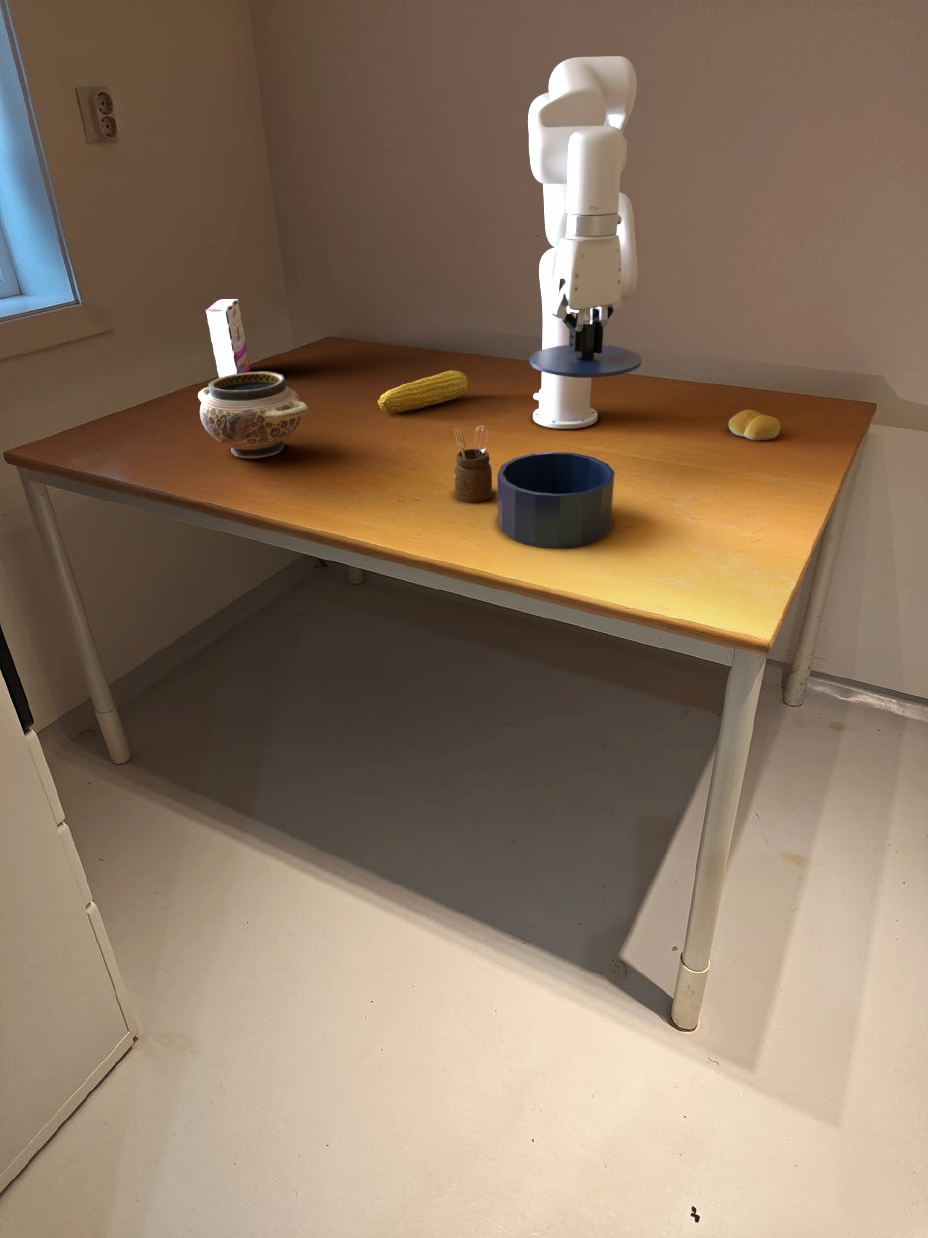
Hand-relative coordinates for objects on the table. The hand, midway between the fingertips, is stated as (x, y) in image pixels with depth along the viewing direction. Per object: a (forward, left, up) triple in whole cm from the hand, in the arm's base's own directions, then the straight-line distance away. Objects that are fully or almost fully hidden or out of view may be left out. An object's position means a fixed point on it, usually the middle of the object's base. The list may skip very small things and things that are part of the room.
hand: (585, 352), depth 133 cm
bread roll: (+5, +37, -20) cm, 42 cm away
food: (-46, -4, -20) cm, 50 cm away
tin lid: (0, 0, -1) cm, 1 cm away
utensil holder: (-1, -21, -20) cm, 29 cm away
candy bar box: (-93, -29, -20) cm, 99 cm away
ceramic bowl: (-42, -42, -20) cm, 63 cm away
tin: (+14, -16, -20) cm, 29 cm away
